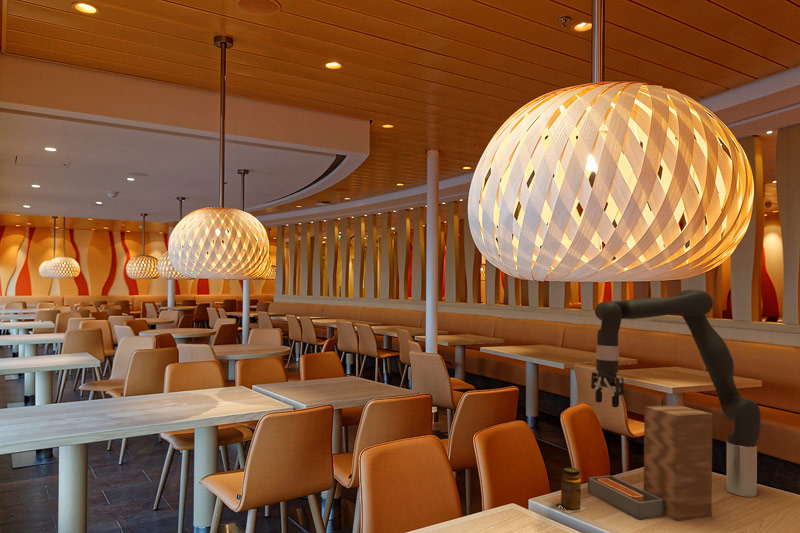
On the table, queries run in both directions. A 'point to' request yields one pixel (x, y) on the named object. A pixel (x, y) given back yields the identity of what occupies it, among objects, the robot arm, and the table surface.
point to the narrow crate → (622, 489)
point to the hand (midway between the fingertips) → (606, 404)
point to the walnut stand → (679, 460)
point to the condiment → (570, 491)
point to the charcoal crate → (627, 499)
